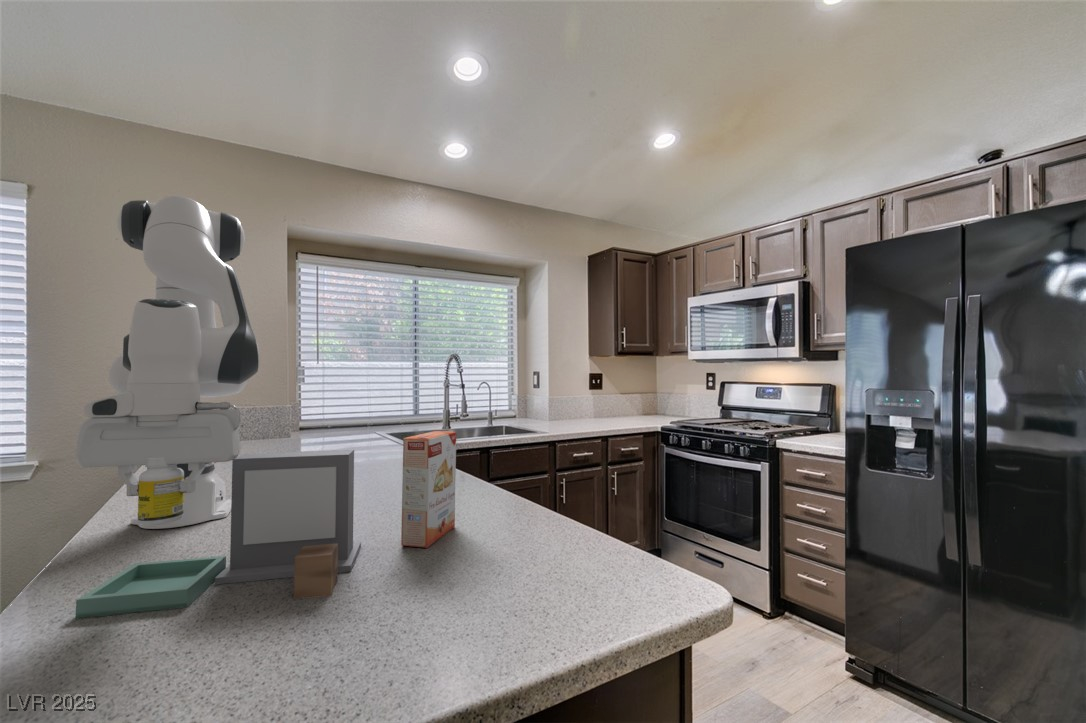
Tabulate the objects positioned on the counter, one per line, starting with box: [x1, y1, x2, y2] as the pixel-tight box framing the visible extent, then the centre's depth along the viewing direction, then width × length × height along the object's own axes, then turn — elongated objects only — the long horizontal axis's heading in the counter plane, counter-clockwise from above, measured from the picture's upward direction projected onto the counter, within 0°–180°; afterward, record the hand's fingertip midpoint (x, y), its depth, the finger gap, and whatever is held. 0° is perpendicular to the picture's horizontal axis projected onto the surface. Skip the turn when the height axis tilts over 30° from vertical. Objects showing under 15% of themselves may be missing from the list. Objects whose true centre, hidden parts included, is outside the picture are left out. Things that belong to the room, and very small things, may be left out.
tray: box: [75, 555, 227, 620], centre depth 71 cm, size 13×13×2 cm
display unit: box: [214, 449, 362, 585], centre depth 82 cm, size 12×20×19 cm, turn 104°
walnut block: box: [293, 543, 338, 600], centre depth 71 cm, size 5×5×6 cm
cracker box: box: [400, 430, 457, 549], centre depth 96 cm, size 14×6×21 cm, turn 168°
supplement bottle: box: [137, 457, 184, 525], centre depth 71 cm, size 5×5×10 cm
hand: (161, 493), depth 71 cm, fingers closed on supplement bottle, 5 cm apart
